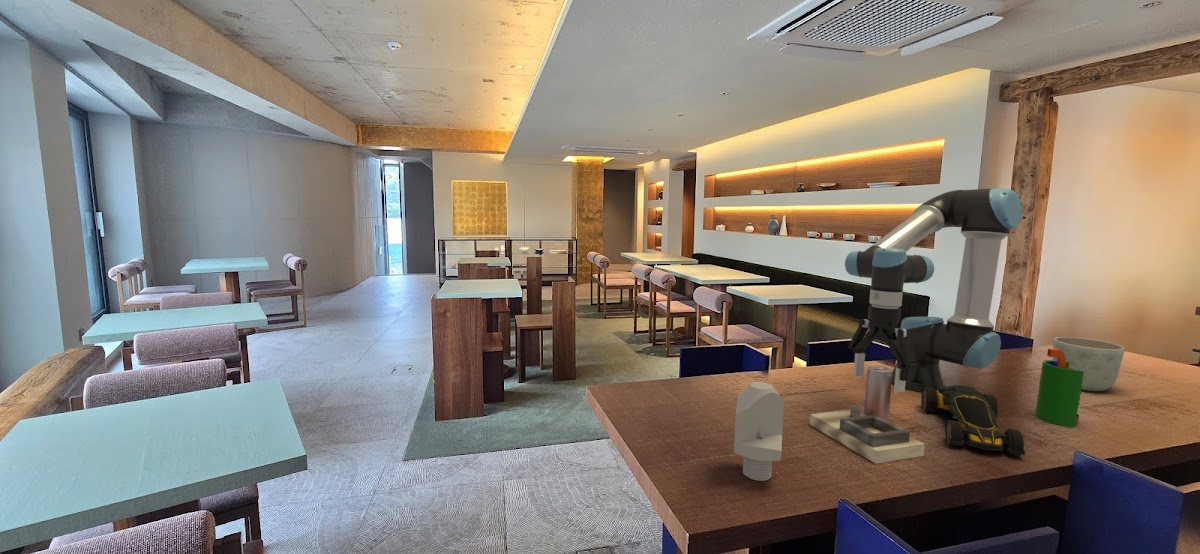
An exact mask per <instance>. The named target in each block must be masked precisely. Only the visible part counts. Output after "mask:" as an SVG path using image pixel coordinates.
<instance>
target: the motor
mask: <svg viewBox="0 0 1200 554" xmlns="http://www.w3.org/2000/svg"><path fill="white" fill-rule="evenodd" d="M1046 355H1047V357H1049V358H1053V357H1057V361H1056V360H1053V359H1047V360H1042V364H1041V371H1040V372H1041V373H1040V379H1039V385H1038V393H1037V399H1036V407H1035V414H1034V415H1035V416H1036V418H1038V419H1039V420H1042V421H1045V422H1047V423H1050V424H1053V425H1059V426H1061V427H1062V426H1064V427H1069V428H1075V427H1076V426H1078V425H1079V420H1080V415H1079V414H1078V411H1079V407H1080V401H1081V394H1082V390H1081V388H1082V382H1083V376H1084V371H1081V370H1075V369H1071V368H1069V362H1066V359H1065V354H1064V353H1063V351H1061V350H1059V349H1056V348H1053V347H1052V348H1048V349H1047V354H1046Z"/></svg>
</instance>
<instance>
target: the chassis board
mask: <svg viewBox="0 0 1200 554" xmlns="http://www.w3.org/2000/svg"><path fill="white" fill-rule="evenodd" d="M809 416H810V417H809V418H810V419H809V426H811V427H813V428H815V429H816V430H818V431H820V432H821V433H823V434H825V435H827V436H828V437H830V438H831V439H833V440H835V441H837V442H838V443H840V444H842V445H844V446H845V447H847V448H848V449H851V450H852V451H853V452H855V453H857V454H858V455H860V456H862V457H863V458H865V459H867V460H869V461H871V462H872V463H873V464H876V465H877V464H882V463H889V462H894V461H900V460H902V461H903V460H908V459H912V458H913V459H914V458H920V457H924V456H925V446H926V445H925V443H924V442H922V441H920V440H918V439H916V438H913V437H911V436H910V434H911V431H908V430H907V429H904V428H903V427H901V426H898V425H896V424H894V423H892V422H890V421H889V420H888V421H886V420H884V419H882V418H880V417H878V416H876V415H869V416H867V415H865V414H864V413H862V407H861V406H860V405H857V404H851V405H850V409H841V410H833V411H826V412H825V411H824V412H817V413H810V415H809Z"/></svg>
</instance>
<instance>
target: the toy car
mask: <svg viewBox="0 0 1200 554" xmlns="http://www.w3.org/2000/svg"><path fill="white" fill-rule="evenodd" d="M920 401H921V409H922V410H923V412H924V413H934V412H937V410H938V409H939V410H943V411H945V412H947V413H951V414H952V419H957V420H952V419H950V420H949V419H948V420H947V421H946V424H945V441H946V443H947V445H948V446H950V447H956V448H957V447H960V446H964V445H965V444H966V445H967V446H969V447H974V448H977V449H981V450H985V451H995V452H1002V451H1005V452H1006V453H1007V455H1009V456H1013V457H1019V458H1020V457H1021V456H1022V455H1023V456H1025V455H1026V451H1025V450H1024V449H1025V448H1024V447H1025V441H1024V435H1023V433H1022V432H1021V431H1020V430H1019V429H1016V428H1008V429H1006V430H1005V431H1004V433H1002V432H1000V431H999V430H998V429H999V427H998V423H997V418H998V413H999V412H998V409H999V405H998V400H997V397H996V396H995V394H994V395H993V394H989V393H981V392H979V390H977V389H976V388H975V387H971V386H966V385H949V386H946V385H944V386H938V390H937V391H936V390H935V389H934V388H933V387H924V388H923V390H922V392H921V400H920Z"/></svg>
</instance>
